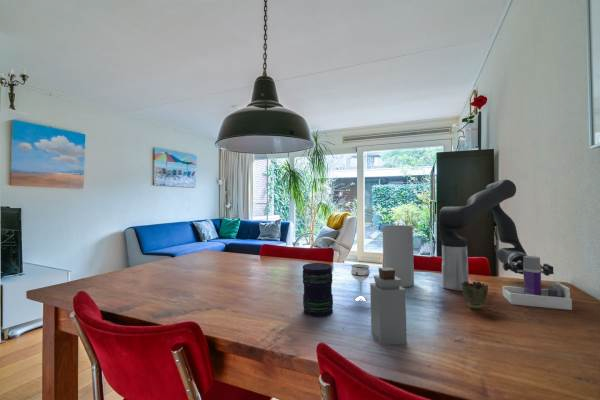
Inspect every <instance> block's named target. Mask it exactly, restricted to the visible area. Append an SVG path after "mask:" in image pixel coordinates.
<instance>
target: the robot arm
mask: <svg viewBox="0 0 600 400" xmlns="http://www.w3.org/2000/svg"><path fill="white" fill-rule="evenodd" d="M516 193H517V187H516V184H515V183H514V182H513V181H512V180H510V179H502V180H497V181H494V182H492V183H489V184H487V185H486V187H485V189H483V190H479V191H478V192H476V193H474V194H473V195H471V196H470V197H469V198H468V199H467V200H466V205H463V206H443V207H441V209H440V210H439V213H438V225H439V226H438V227H439V237H440V241H441V258H442V259H441V260H442V261H441V282H442V287H443V289H447V290H451V291H459V292H460V291H462V292H463V289H462V282H463V283H464V281H466V282H469V259H468V256H469V255H468V240H467V239H466V238H465V237H463V236H461V235H459V234H458V233H457V232H456V231H455V230H465V229H468V228H469V227H470V226H472V224H474V223H475V221H477V220H478V219H479V218H480V217H482V216H483V215H485V214H486V213H488V212H490V211H492V214H493V217H494V221H495V223H496V228H497V232H498V238H499V239H498V240H499V241H500V243H502V244H509V245H511V246H513V247H503V248H501V247H500V248H498V250H497V255H496V256H497V259H498V261H499V262H500V263H501V264H502V268H503V270H504V271H506V272H508V271H509V272H513V273H514V274H519V275H524V274H523V256H529V255H527V252H526V250H525V249H524V247H523V245H522V243H521V241H520V239H519V236H518V231H517V225H516V223H515V222H514V220H513V219H512V218H511V217H510V216H509V214H507V213H506V212H505V211H504V210H503V209H502V206H501V205H500V204H501V203H502V202H504V201H505V200H508V199H511V198H514V197H515V195H516ZM540 268H541V274H543V275H545V276H547V277H549V276H550V275H554V274H555V273H554V266H552V265H551V264H549V263H543V264H542V263H540Z"/></svg>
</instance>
